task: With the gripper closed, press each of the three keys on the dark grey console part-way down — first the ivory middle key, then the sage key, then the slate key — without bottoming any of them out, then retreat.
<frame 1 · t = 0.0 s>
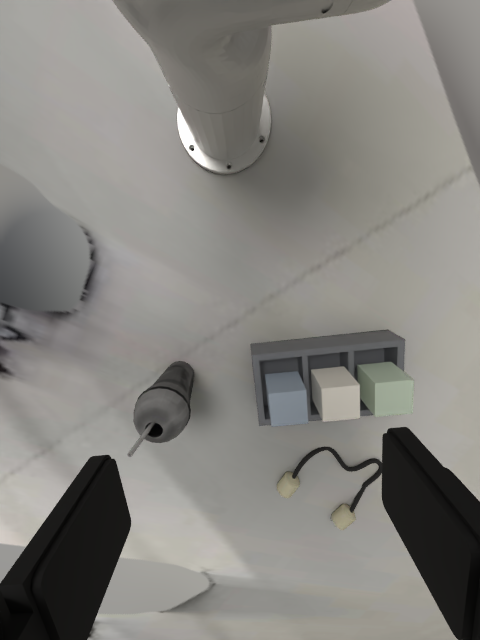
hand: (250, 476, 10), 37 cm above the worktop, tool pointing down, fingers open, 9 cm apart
key sage: (383, 387, 41), point 8 cm above the worktop, slide at 0.0 cm
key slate: (285, 397, 42), point 8 cm above the worktop, slide at 0.0 cm
key ivory: (334, 392, 41), point 8 cm above the worktop, slide at 0.0 cm
cable: (326, 475, 55), on the worktop
beverage cup: (180, 373, 49), on the worktop
console: (320, 370, 49), on the worktop
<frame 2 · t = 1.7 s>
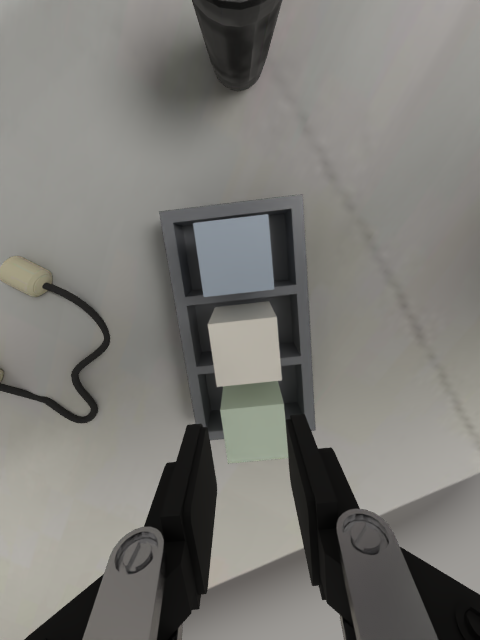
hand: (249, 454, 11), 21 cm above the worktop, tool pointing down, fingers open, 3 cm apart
key sage: (253, 413, 26), point 8 cm above the worktop, slide at 0.0 cm
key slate: (235, 255, 23), point 8 cm above the worktop, slide at 0.0 cm
key ivory: (245, 340, 24), point 8 cm above the worktop, slide at 0.0 cm
cable: (54, 341, 33), on the worktop
beverage cup: (238, 62, 26), on the worktop
console: (244, 318, 32), on the worktop
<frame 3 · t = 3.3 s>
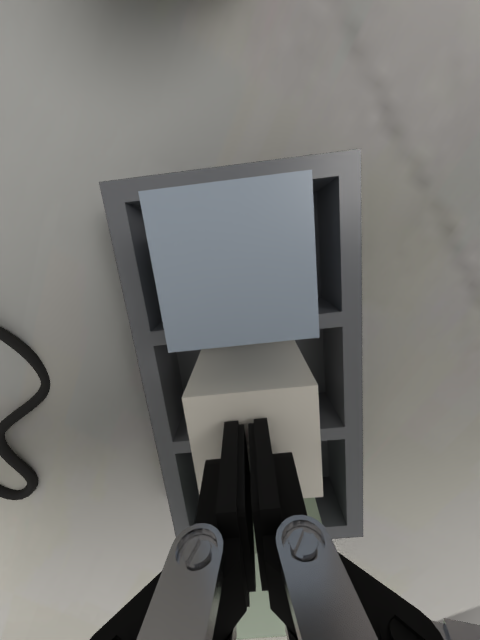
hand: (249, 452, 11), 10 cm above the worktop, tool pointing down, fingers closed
key sage: (266, 529, 15), point 8 cm above the worktop, slide at 0.0 cm
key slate: (236, 262, 12), point 8 cm above the worktop, slide at 0.0 cm
key ivory: (253, 407, 14), point 7 cm above the worktop, slide at 0.6 cm, touching gripper
console: (250, 354, 21), on the worktop
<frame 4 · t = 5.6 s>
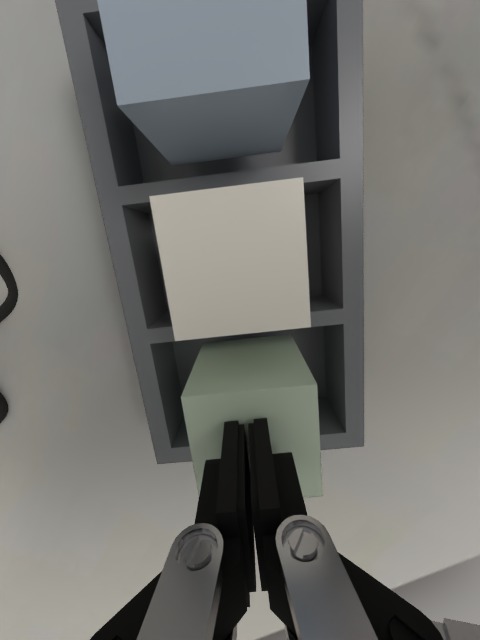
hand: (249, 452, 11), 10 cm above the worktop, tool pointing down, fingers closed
key sage: (252, 406, 14), point 7 cm above the worktop, slide at 0.9 cm, touching gripper
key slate: (211, 51, 10), point 8 cm above the worktop, slide at 0.0 cm
key ivory: (236, 260, 13), point 6 cm above the worktop, slide at 1.4 cm
console: (238, 254, 19), on the worktop
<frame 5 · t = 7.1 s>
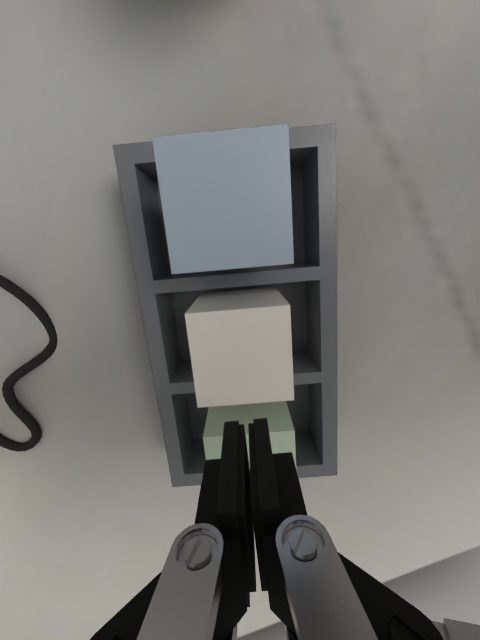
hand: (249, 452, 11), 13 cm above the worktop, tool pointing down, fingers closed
key sage: (250, 438, 19), point 6 cm above the worktop, slide at 1.7 cm
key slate: (229, 212, 14), point 8 cm above the worktop, slide at 0.0 cm
key ivory: (241, 339, 17), point 6 cm above the worktop, slide at 1.4 cm
console: (241, 315, 23), on the worktop
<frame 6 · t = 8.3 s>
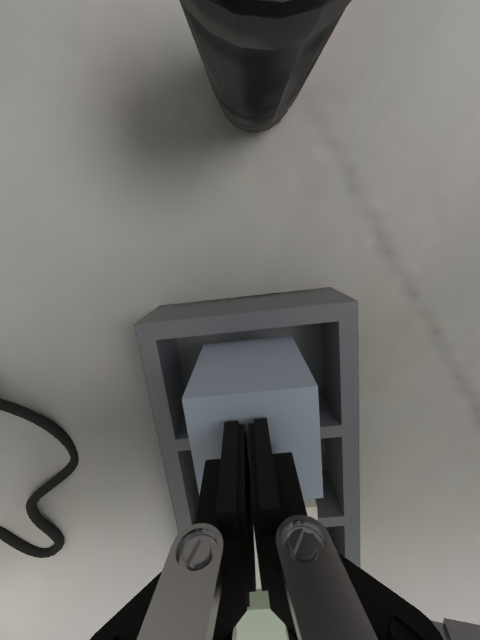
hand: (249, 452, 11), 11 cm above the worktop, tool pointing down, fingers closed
key sage: (273, 580, 19), point 6 cm above the worktop, slide at 1.7 cm
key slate: (253, 408, 14), point 8 cm above the worktop, slide at 0.0 cm, touching gripper
key ivory: (264, 499, 17), point 6 cm above the worktop, slide at 1.4 cm
cable: (5, 456, 25), on the worktop
beverage cup: (255, 90, 17), on the worktop
console: (259, 434, 23), on the worktop
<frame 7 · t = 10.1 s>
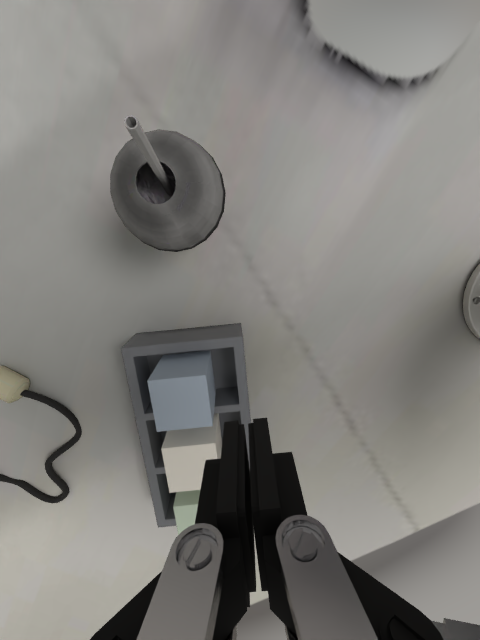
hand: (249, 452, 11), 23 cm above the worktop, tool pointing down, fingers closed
key sage: (203, 498, 32), point 6 cm above the worktop, slide at 1.7 cm
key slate: (185, 387, 28), point 6 cm above the worktop, slide at 1.1 cm
key ivory: (195, 447, 30), point 6 cm above the worktop, slide at 1.4 cm
cable: (30, 432, 37), on the worktop
beverage cup: (192, 214, 30), on the worktop
console: (201, 414, 36), on the worktop
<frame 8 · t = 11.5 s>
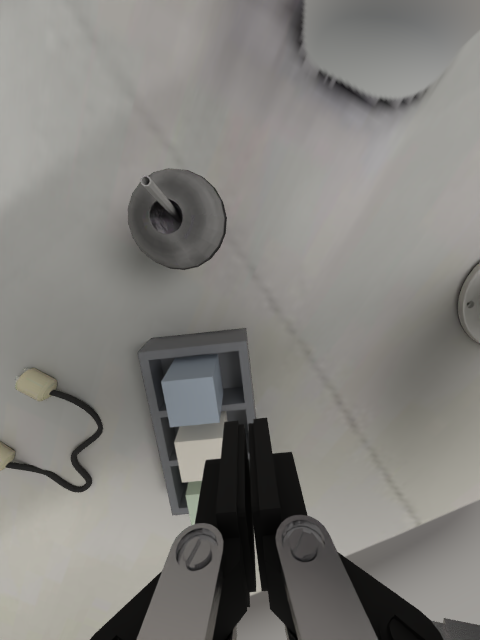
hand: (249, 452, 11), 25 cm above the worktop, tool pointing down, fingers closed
key sage: (213, 489, 35), point 6 cm above the worktop, slide at 1.7 cm
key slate: (195, 387, 31), point 6 cm above the worktop, slide at 1.1 cm
key ivory: (205, 441, 33), point 6 cm above the worktop, slide at 1.4 cm
cable: (57, 427, 41), on the worktop
beverage cup: (200, 229, 33), on the worktop
console: (210, 412, 39), on the worktop
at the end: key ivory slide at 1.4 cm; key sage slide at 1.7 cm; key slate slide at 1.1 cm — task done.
